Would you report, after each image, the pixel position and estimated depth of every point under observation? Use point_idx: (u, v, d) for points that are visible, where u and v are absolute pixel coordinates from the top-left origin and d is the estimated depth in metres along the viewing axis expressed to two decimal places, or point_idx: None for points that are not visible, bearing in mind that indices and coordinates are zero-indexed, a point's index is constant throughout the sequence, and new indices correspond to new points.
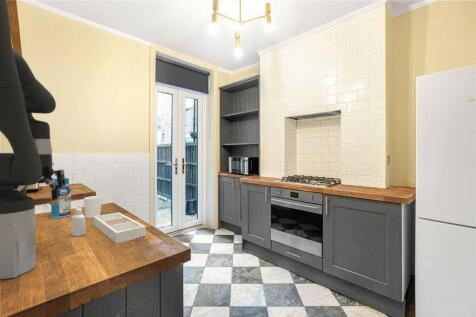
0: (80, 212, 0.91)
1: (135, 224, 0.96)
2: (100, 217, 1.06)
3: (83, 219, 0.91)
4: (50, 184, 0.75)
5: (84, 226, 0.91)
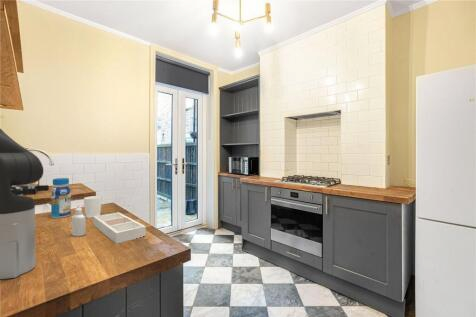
0: (80, 212, 0.91)
1: (135, 224, 0.96)
2: (100, 217, 1.06)
3: (83, 219, 0.91)
4: (31, 185, 0.91)
5: (84, 226, 0.91)
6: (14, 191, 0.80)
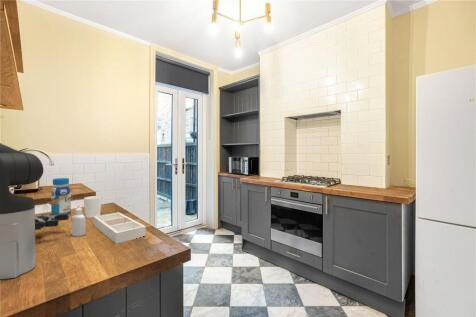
0: (80, 212, 0.91)
1: (135, 224, 0.96)
2: (100, 217, 1.06)
3: (83, 219, 0.91)
4: (51, 215, 0.92)
5: (84, 226, 0.91)
6: (38, 224, 0.82)
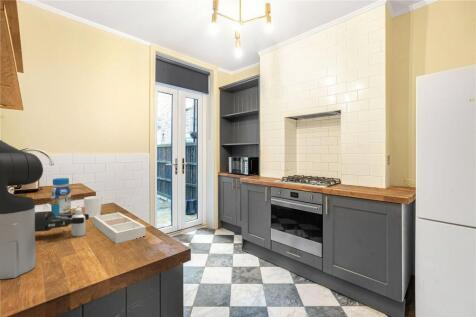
0: (80, 212, 0.91)
1: (135, 224, 0.96)
2: (100, 217, 1.06)
3: None
4: (72, 214, 0.93)
5: (84, 226, 0.91)
6: (66, 221, 0.86)
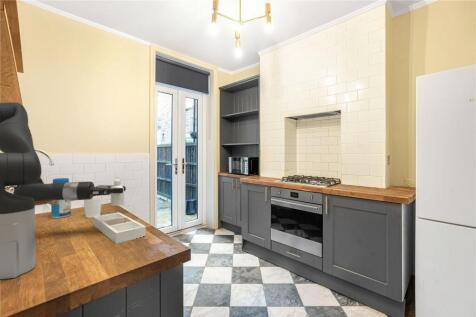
0: (119, 183, 0.97)
1: (135, 224, 0.96)
2: (100, 217, 1.06)
3: None
4: (110, 186, 0.99)
5: (123, 196, 0.97)
6: (108, 190, 0.92)
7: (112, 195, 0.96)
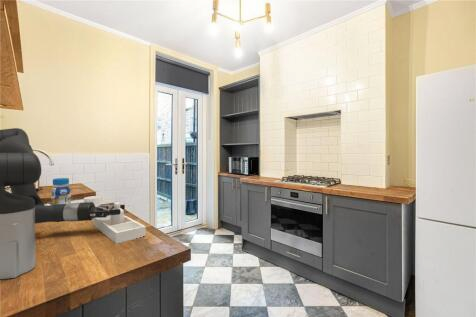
0: (119, 206, 0.97)
1: (135, 224, 0.96)
2: None
3: (122, 212, 0.97)
4: (110, 205, 1.00)
5: (123, 219, 0.97)
6: (104, 212, 0.90)
7: (112, 218, 0.96)
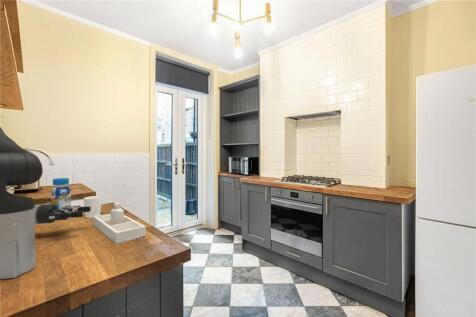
0: (119, 206, 0.97)
1: (135, 224, 0.96)
2: (100, 217, 1.06)
3: (122, 212, 0.97)
4: (74, 207, 0.96)
5: (123, 219, 0.97)
6: (64, 215, 0.86)
7: (112, 218, 0.96)
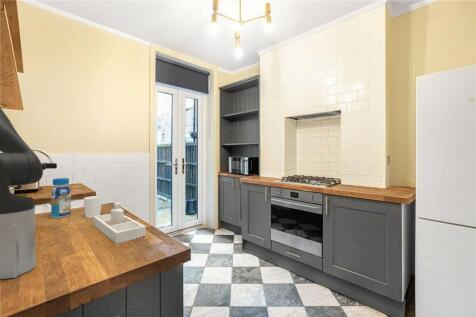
0: (119, 206, 0.97)
1: (135, 224, 0.96)
2: (100, 217, 1.06)
3: (122, 212, 0.97)
4: None
5: (123, 219, 0.97)
6: None
7: (112, 218, 0.96)
